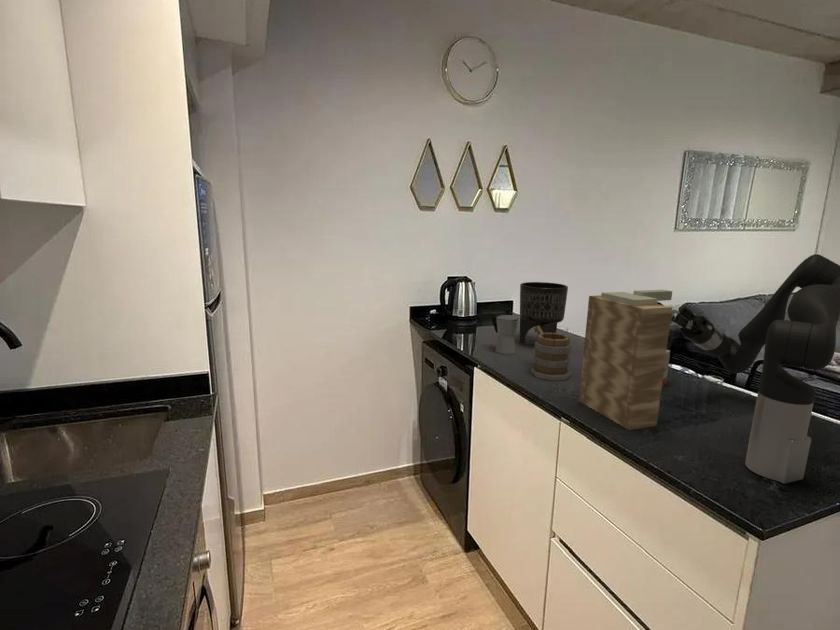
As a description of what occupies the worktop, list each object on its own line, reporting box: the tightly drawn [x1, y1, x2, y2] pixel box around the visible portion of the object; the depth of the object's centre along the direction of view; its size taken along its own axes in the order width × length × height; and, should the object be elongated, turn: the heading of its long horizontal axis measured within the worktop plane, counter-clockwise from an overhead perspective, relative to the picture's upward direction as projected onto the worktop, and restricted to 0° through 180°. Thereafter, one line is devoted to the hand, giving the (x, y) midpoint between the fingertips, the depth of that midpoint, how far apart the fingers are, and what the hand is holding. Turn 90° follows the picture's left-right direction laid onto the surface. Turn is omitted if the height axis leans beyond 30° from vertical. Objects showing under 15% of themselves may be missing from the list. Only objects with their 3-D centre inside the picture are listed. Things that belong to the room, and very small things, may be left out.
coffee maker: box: [491, 308, 520, 356], centre depth 185 cm, size 15×9×18 cm, turn 34°
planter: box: [519, 281, 569, 344], centre depth 194 cm, size 20×20×26 cm
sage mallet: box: [600, 289, 673, 306], centre depth 123 cm, size 12×17×2 cm
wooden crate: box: [578, 294, 673, 431], centre depth 124 cm, size 20×9×32 cm, turn 19°
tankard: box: [530, 326, 572, 382], centre depth 161 cm, size 20×13×15 cm, turn 9°
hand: (669, 307), depth 126 cm, fingers open, 8 cm apart
